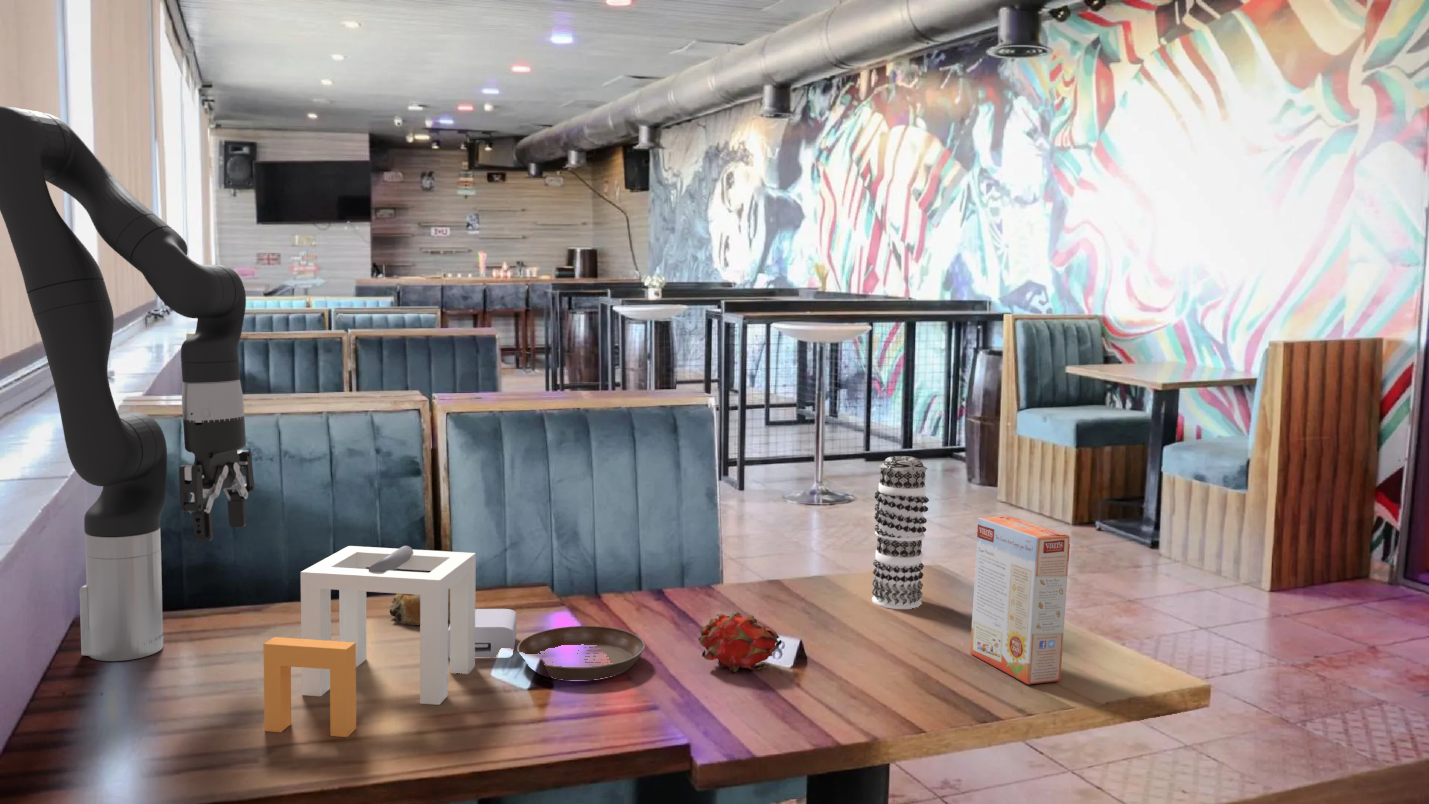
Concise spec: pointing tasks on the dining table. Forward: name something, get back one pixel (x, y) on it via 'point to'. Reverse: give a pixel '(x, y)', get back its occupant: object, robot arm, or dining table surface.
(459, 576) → the white square table frame
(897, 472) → the decorative candle
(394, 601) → the bread roll
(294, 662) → the orange arch block
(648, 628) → the dining table surface
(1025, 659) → the cracker box
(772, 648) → the dragon fruit
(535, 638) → the plant saucer
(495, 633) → the charger
